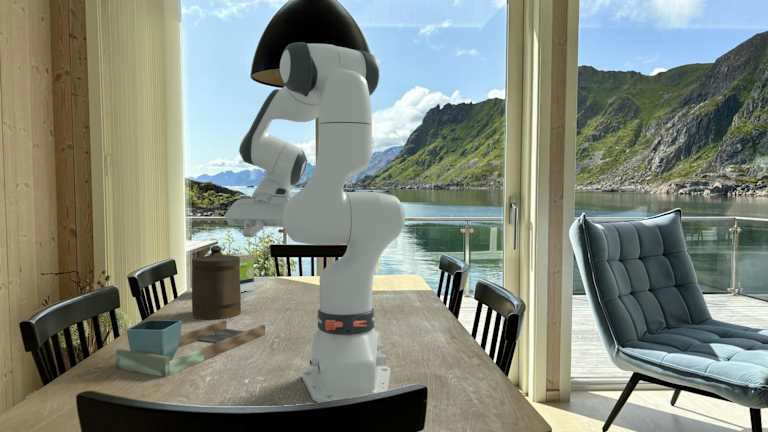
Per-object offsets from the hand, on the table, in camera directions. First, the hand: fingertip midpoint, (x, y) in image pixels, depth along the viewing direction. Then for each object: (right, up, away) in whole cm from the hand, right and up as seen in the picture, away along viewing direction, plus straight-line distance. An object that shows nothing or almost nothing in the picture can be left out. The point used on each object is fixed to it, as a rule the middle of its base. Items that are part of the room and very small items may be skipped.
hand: (247, 235), depth 141 cm
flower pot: (-16, -29, -20) cm, 39 cm away
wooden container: (-17, -26, +28) cm, 42 cm away
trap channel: (-9, -28, -9) cm, 31 cm away
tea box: (-23, -25, +63) cm, 72 cm away
